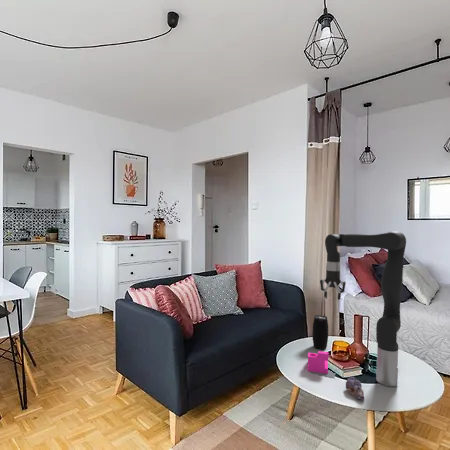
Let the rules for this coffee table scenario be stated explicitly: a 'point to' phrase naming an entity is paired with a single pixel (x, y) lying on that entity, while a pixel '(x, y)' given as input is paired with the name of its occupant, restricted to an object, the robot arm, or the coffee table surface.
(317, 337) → the portable speaker
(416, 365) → the coffee table surface
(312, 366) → the bracket
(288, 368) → the coffee table surface
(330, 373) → the grey mat
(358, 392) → the purple rock
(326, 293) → the robot arm
